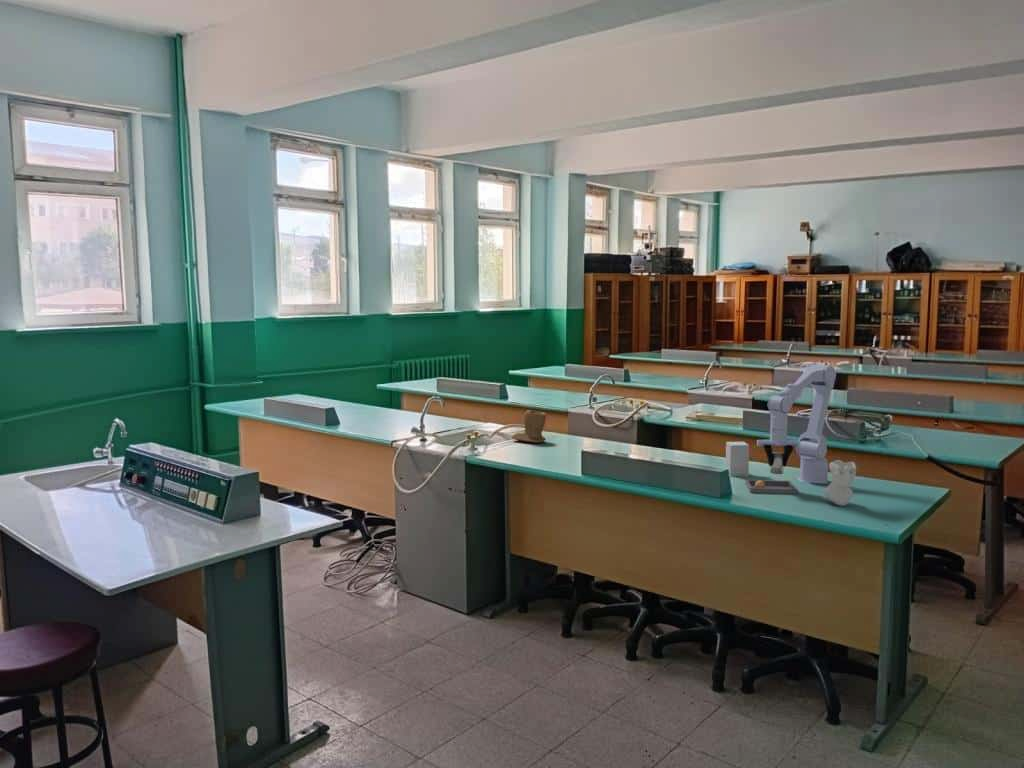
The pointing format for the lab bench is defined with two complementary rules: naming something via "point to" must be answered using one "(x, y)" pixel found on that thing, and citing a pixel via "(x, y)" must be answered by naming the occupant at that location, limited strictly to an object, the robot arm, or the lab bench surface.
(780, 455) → the shaker
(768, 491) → the tray
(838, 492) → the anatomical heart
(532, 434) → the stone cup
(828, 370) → the robot arm
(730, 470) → the supplement box
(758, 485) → the ball
